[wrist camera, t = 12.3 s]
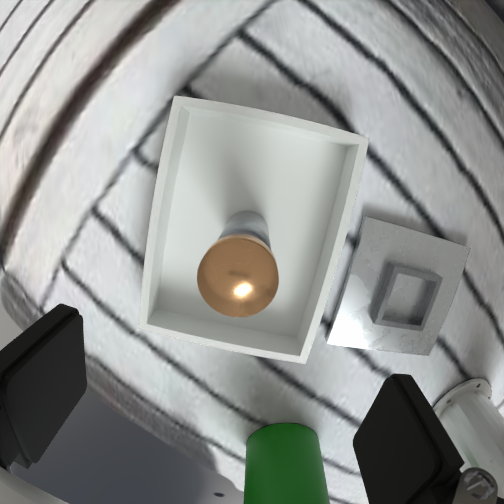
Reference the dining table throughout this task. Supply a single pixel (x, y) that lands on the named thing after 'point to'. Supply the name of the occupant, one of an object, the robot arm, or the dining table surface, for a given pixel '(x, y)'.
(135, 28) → the dining table surface
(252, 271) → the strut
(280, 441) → the motor
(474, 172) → the dining table surface
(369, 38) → the dining table surface
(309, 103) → the dining table surface
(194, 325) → the bin
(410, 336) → the socket plate
